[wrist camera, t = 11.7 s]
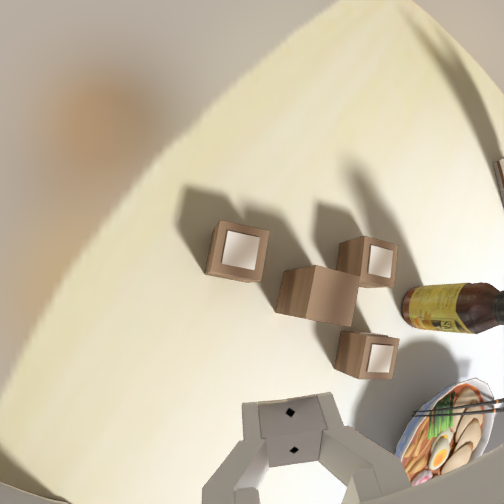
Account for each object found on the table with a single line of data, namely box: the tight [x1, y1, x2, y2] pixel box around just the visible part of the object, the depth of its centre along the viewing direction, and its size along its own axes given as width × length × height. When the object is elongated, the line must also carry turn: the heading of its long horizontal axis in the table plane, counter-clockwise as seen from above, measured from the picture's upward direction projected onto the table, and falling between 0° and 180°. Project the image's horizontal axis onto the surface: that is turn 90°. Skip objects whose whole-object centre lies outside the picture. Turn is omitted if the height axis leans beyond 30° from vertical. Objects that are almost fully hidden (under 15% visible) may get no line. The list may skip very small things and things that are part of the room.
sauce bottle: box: [402, 283, 504, 334], centre depth 33 cm, size 6×6×20 cm
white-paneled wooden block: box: [336, 236, 398, 288], centre depth 38 cm, size 5×5×6 cm
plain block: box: [275, 265, 360, 327], centre depth 34 cm, size 5×5×9 cm
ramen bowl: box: [395, 378, 504, 486], centre depth 37 cm, size 25×23×8 cm
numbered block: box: [205, 220, 270, 283], centre depth 34 cm, size 5×5×6 cm
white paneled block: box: [334, 331, 399, 379], centre depth 36 cm, size 5×5×6 cm
